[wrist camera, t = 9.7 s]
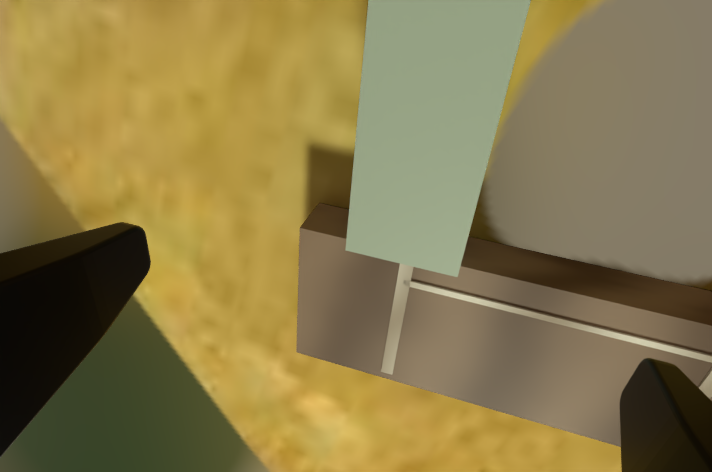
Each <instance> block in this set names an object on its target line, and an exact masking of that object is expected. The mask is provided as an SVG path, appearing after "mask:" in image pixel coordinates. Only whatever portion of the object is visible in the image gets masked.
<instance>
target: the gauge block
mask: <svg viewBox="0 0 712 472" xmlns="http://www.w3.org/2000/svg"><path fill="white" fill-rule="evenodd" d="M530 1H531V0H369V1H368V12H367V22H366V33H365V44H364V55H363V66H362V76H361V87H360V98H359V109H358V120H357V130H356V141H355V152H354V163H353V173H352V184H351V195H350V206H349V217H348V227H347V238H346V249H345V250H346V251H350V252H354V253H359V254H363V255H367V256H371V257H375V258H379V259H383V260H388V261H392V262H396V263H400V264H404V265H408V266H412V267H417V268H421V269H425V270H429V271H433V272H437V273H442V274H446V275H450V276H454V277H458V274H459V270H460V266H461V262H462V258H463V255H464V251H465V247H466V243H467V240H468V236H469V232H470V228H471V224H472V221H473V217H474V213H475V209H476V206H477V202H478V198H479V194H480V190H481V187H482V183H483V179H484V175H485V171H486V168H487V164H488V160H489V156H490V153H491V149H492V145H493V141H494V137H495V134H496V130H497V126H498V122H499V119H500V115H501V111H502V107H503V103H504V100H505V96H506V92H507V88H508V84H509V81H510V77H511V73H512V69H513V66H514V62H515V58H516V54H517V50H518V47H519V43H520V39H521V35H522V32H523V28H524V24H525V20H526V16H527V13H528V9H529V5H530Z"/></svg>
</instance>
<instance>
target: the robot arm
mask: <svg viewBox="0 0 712 472" xmlns="http://www.w3.org/2000/svg"><path fill="white" fill-rule="evenodd" d="M150 262H151V261H150V255H149V250H148V244H147V239H146V234H145V231H144V230H143V228H141V227H140V226H136V225H133V224H129V223H124V222H120V223H116V224H112V225H108V226H104V227H100V228H96V229H92V230H89V231H85V232H81V233H77V234H73V235H70V236H66V237H62V238H58V239H54V240H50V241H46V242H43V243H38V244H35V245H31V246H27V247H23V248H19V249H16V250H12V251H8V252H4V253H0V458H1V456H2V455H3V454H4V453H5V452H6V450H7V449H8V448H9V447H10V446H11V445H12V443H13V442H14V441H15V440H16V439H17V438H18V436H19V435H20V434H21V433H22V432H23V430H24V429H25V428H26V427H27V425H29V423H30V422H31V421H32V420H33V419H34V418H35V416H36V415H37V414H38V413H39V412H40V410H41V409H42V408H43V407H44V406H45V405H46V403H47V402H48V401H49V400H50V399H51V398H52V396H53V395H54V394H55V393H56V392H57V390H58V389H59V388H60V387H61V386H62V385H63V384H64V382H65V381H66V380H67V379H68V377H69V376H70V375H71V374H72V373H73V372H74V371H75V369H76V368H77V367H78V366H79V365H80V363H81V362H82V361H83V360H84V359H85V358H86V356H87V355H88V354H89V353H90V352H91V350H92V349H93V348H94V347H95V346H96V345H97V343H98V342H99V341H100V340H101V339H102V337H103V336H104V335H105V333H106V332H107V331H108V329H109V328H110V327H111V325H112V324H113V322H114V321H115V319H116V318H117V317H118V315H119V314H120V312H121V311H122V309H123V308H124V307H125V305H126V304H127V302H128V301H129V299H130V298H131V296H132V295H133V294H134V292H135V291H136V289H137V288H138V286H139V285H140V284H141V282H142V281H143V279H144V278H145V276H146V275H147V273H148V271H149V268H150ZM620 435H621V464H622V472H712V401H711V400H710V399H709V398H708V397H707V396H706V395H705V394H704V393H703V392H702V391H701V390H700V389H699V388H698V387H697V386H696V385H695V384H694V383H693V382H692V381H691V380H690V379H689V378H688V377H687V376H686V375H685V374H684V373H683V372H682V371H681V370H680V369H679V368H678V367H677V366H676V365H674V364H671V363H668V362H664V361H660V360H656V359H652V358H646V359H643V360H642V361H641V362H640V363H639V365H638V366H637V368H636V370H635V371H634V373H633V375H632V376H631V378H630V379H629V381H628V383H627V384H626V386H625V388H624V389H623V391H622V394H621V397H620Z"/></svg>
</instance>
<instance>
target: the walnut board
mask: <svg viewBox="0 0 712 472" xmlns="http://www.w3.org/2000/svg"><path fill="white" fill-rule="evenodd" d="M348 217H349V210H348V209H344V208H339V207H335V206H331V205H326V204H322V203H319V204H318V205H317V206H316V208H315V209H314V210H313V212H312V213H311V214H310V215H309V217H308V218H307V219H306V221H305V222H304V223H303V225H302V226H301V227H300V243H299V280H298V317H297V352H298V353H301V354H304V355H308V356H311V357H315V358H318V359H322V360H325V361H328V362H332V363H335V364H339V365H342V366H346V367H349V368H352V369H356V370H359V371H363V372H366V373H370V374H373V375H376V376H380V377H383V378H387V379H390V380H393V381H397V382H400V383H404V384H407V385H411V386H414V387H417V388H421V389H424V390H428V391H431V392H435V393H438V394H441V395H445V396H448V397H452V398H455V399H459V400H462V401H465V402H469V403H472V404H476V405H479V406H483V407H486V408H489V409H493V410H496V411H500V412H503V413H506V414H510V415H513V416H517V417H520V418H524V419H527V420H530V421H534V422H537V423H541V424H544V425H548V426H551V427H554V428H558V429H561V430H565V431H568V432H572V433H575V434H578V435H582V436H585V437H589V438H592V439H596V440H599V441H602V442H606V443H609V444H613V445H616V446H619V447H621V435H620V397H621V394H622V391H623V389H624V388H625V386H626V384H627V383H628V381H629V379H630V378H631V376H632V375H633V373H634V371H635V370H636V368H637V366H638V365H639V363H640V362H641V361H642V360H643V359H646V358H652V359H656V360H660V361H664V362H668V363H671V364H674V365H676V366H677V367H678V368H679V369H680V370H681V371H682V372H683V373H684V374H685V375H686V376H687V377H688V378H689V379H690V380H691V381H692V382H693V383H694V384H695V385H696V386H697V387H698V388H699V389H700V390H701V391H702V392H703V393H704V394H705V395H706V396H707V397H708V398H709V399H710V400H711V401H712V291H708V290H704V289H699V288H695V287H690V286H686V285H682V284H677V283H673V282H668V281H664V280H659V279H655V278H650V277H646V276H642V275H637V274H633V273H628V272H624V271H619V270H615V269H610V268H606V267H602V266H597V265H593V264H588V263H584V262H579V261H575V260H570V259H566V258H562V257H557V256H553V255H548V254H544V253H539V252H535V251H530V250H526V249H522V248H517V247H513V246H508V245H504V244H499V243H495V242H490V241H486V240H482V239H477V238H473V237H468V240H467V243H466V247H465V251H464V255H463V258H462V262H461V266H460V270H459V274H458V277H454V276H450V275H446V274H442V273H437V272H433V271H429V270H425V269H421V268H417V267H412V266H408V265H404V264H400V263H396V262H392V261H388V260H383V259H379V258H375V257H371V256H367V255H363V254H359V253H354V252H350V251H346V250H345V249H346V238H347V227H348Z"/></svg>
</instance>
